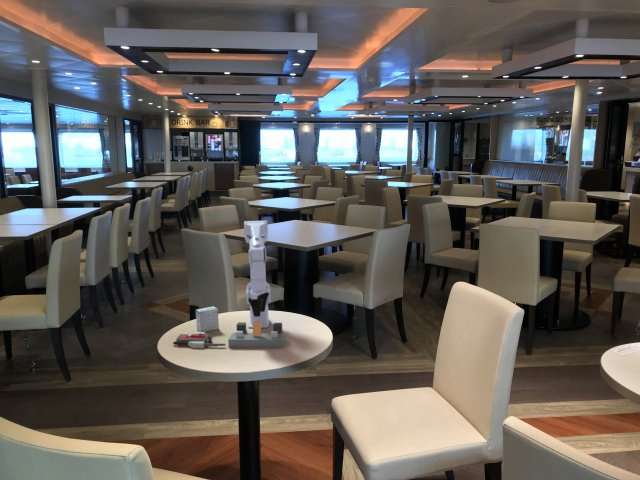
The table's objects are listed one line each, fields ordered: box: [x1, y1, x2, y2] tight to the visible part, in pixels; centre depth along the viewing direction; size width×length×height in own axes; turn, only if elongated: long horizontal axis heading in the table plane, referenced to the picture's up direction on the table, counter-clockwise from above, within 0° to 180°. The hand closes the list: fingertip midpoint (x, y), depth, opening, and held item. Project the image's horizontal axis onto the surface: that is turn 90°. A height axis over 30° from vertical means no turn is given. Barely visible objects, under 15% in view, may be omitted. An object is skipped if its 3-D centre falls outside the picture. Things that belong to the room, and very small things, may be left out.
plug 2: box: [272, 322, 283, 333], centre depth 201 cm, size 10×3×6 cm, turn 176°
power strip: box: [227, 330, 286, 349], centre depth 193 cm, size 7×20×5 cm, turn 87°
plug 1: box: [236, 321, 248, 333], centre depth 202 cm, size 10×3×6 cm, turn 176°
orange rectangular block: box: [252, 322, 263, 336], centre depth 193 cm, size 1×3×5 cm, turn 86°
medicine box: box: [195, 306, 220, 333], centre depth 210 cm, size 8×4×9 cm, turn 123°
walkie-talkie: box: [172, 331, 226, 349], centre depth 194 cm, size 9×4×20 cm
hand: (259, 314), depth 198 cm, fingers open, 7 cm apart
